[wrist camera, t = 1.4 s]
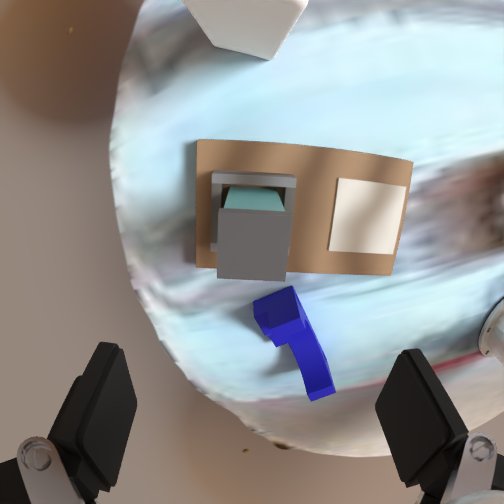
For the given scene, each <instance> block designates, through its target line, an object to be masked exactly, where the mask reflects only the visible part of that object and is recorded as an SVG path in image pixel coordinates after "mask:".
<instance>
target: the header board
mask: <svg viewBox="0 0 504 504" xmlns="http://www.w3.org/2000/svg"><path fill="white" fill-rule="evenodd" d="M412 169H413V162H411V161H408V160H404V159H398V158H393V157H387V156H382V155H376V154H369V153H363V152H356V151H349V150H342V149H334V148H326V147H317V146H308V145H298V144H287V143H274V142H260V141H242V140H214V139H199V140H197V166H196V267H198V268H216V269H217V243H218V211H219V208H224V205H225V202H226V199H227V195H228V192H229V189H230V186H234V187H254V188H270V189H276V190H277V192H278V195H279V197H280V200H281V202H282V205H283V207H284V209H285V211H286V212H290V213H291V215H292V222H291V232H290V241H289V250H288V259H287V268H286V272H301V273H326V274H354V275H387V276H391V273H392V269H393V265H394V261H395V257H396V253H397V249H398V244H399V240H400V235H401V231H402V226H403V221H404V216H405V211H406V205H407V200H408V194H409V188H410V182H411V176H412Z"/></svg>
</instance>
